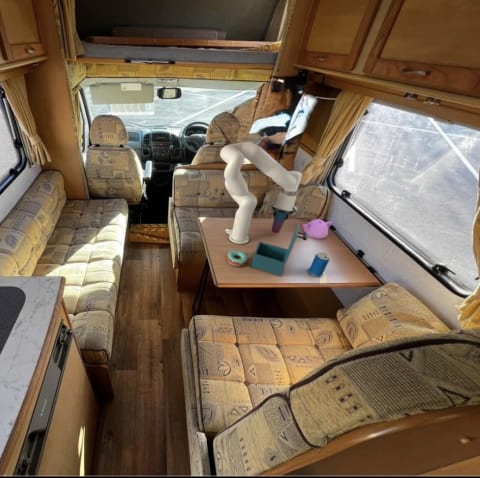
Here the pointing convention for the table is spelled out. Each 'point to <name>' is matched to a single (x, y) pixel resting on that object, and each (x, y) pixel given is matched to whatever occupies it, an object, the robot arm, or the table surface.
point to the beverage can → (319, 264)
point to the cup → (278, 220)
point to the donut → (237, 262)
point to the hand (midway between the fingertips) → (279, 217)
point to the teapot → (317, 228)
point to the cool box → (269, 258)
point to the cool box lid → (294, 241)
